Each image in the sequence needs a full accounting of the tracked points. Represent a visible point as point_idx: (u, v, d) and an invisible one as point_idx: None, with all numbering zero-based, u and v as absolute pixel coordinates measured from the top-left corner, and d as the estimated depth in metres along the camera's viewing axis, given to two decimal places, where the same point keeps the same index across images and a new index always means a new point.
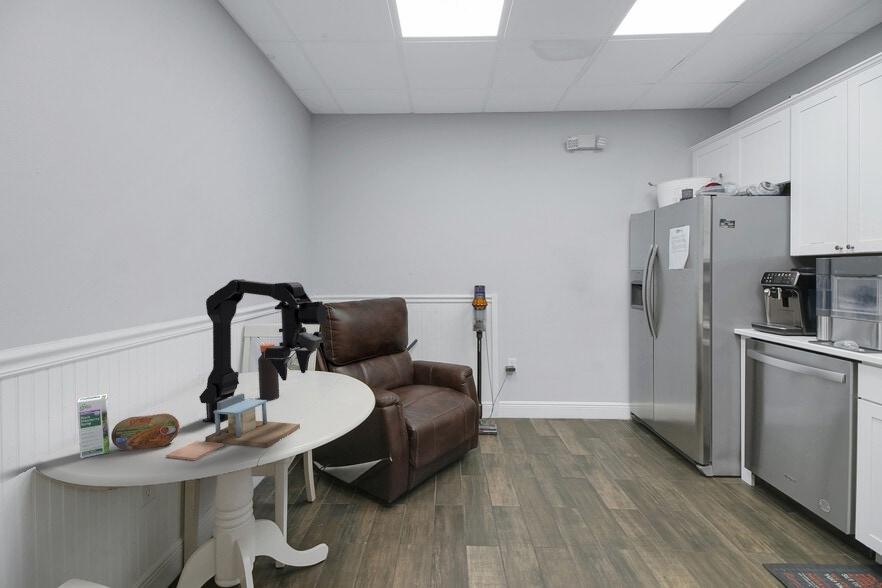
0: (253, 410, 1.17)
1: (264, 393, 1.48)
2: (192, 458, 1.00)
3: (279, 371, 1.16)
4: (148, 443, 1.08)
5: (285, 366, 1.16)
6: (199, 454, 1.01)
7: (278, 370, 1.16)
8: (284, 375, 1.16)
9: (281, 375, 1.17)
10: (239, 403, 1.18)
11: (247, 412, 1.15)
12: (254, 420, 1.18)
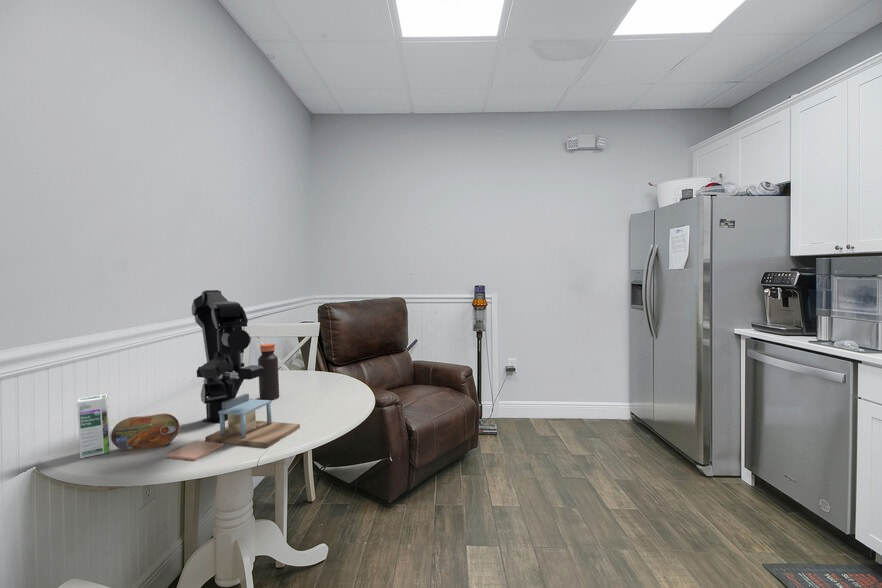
0: None
1: (264, 393, 1.48)
2: (192, 458, 1.00)
3: None
4: (148, 443, 1.08)
5: (223, 387, 1.16)
6: (199, 454, 1.01)
7: None
8: None
9: None
10: (244, 403, 1.18)
11: None
12: (254, 420, 1.18)
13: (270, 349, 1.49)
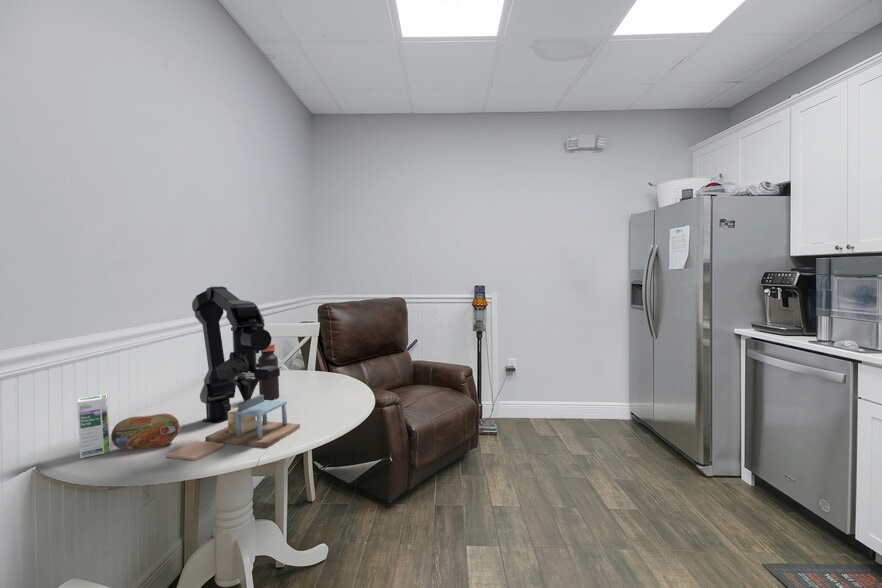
0: None
1: (264, 393, 1.48)
2: (192, 458, 1.00)
3: None
4: (148, 443, 1.08)
5: (239, 388, 1.15)
6: (199, 454, 1.01)
7: None
8: None
9: None
10: (259, 404, 1.16)
11: None
12: (254, 420, 1.18)
13: (270, 349, 1.49)
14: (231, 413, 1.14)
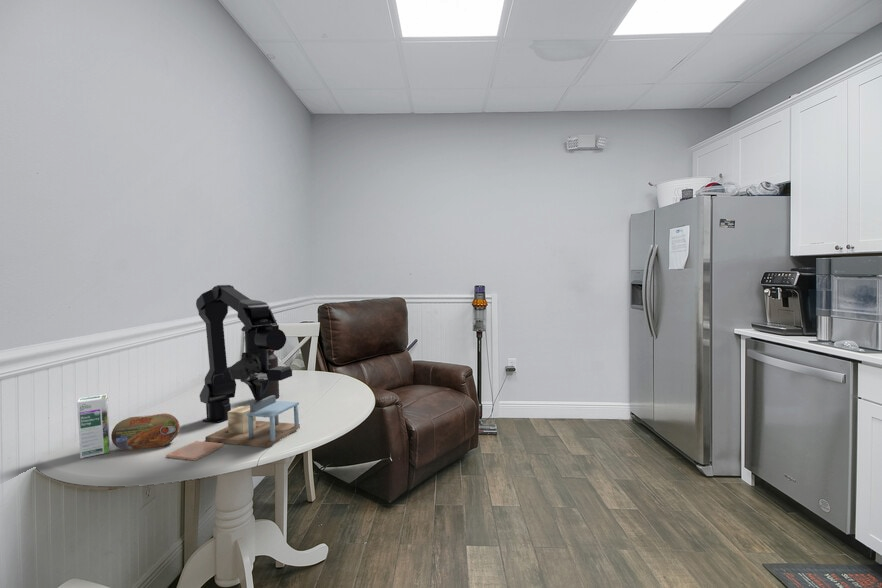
0: None
1: None
2: (192, 458, 1.00)
3: None
4: (148, 443, 1.08)
5: (251, 388, 1.13)
6: (199, 454, 1.01)
7: None
8: None
9: None
10: (271, 405, 1.15)
11: (247, 412, 1.15)
12: (254, 420, 1.18)
13: None
14: (231, 413, 1.14)
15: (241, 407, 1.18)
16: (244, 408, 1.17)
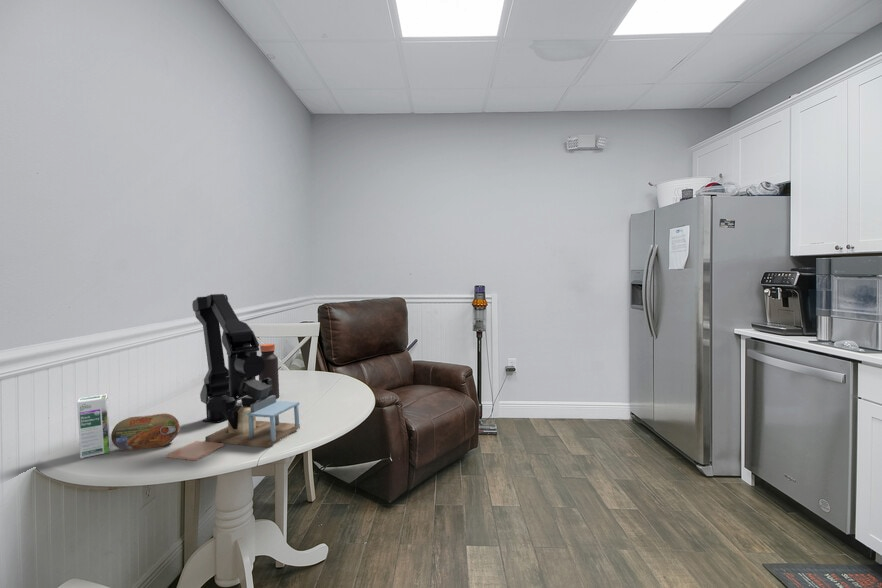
0: None
1: None
2: (192, 458, 1.00)
3: (229, 420, 1.13)
4: (148, 443, 1.08)
5: (235, 415, 1.12)
6: (199, 454, 1.01)
7: (228, 419, 1.13)
8: (234, 424, 1.13)
9: (231, 424, 1.13)
10: (271, 405, 1.15)
11: (247, 412, 1.15)
12: (254, 420, 1.18)
13: (270, 349, 1.49)
14: None
15: (241, 407, 1.18)
16: (244, 408, 1.17)
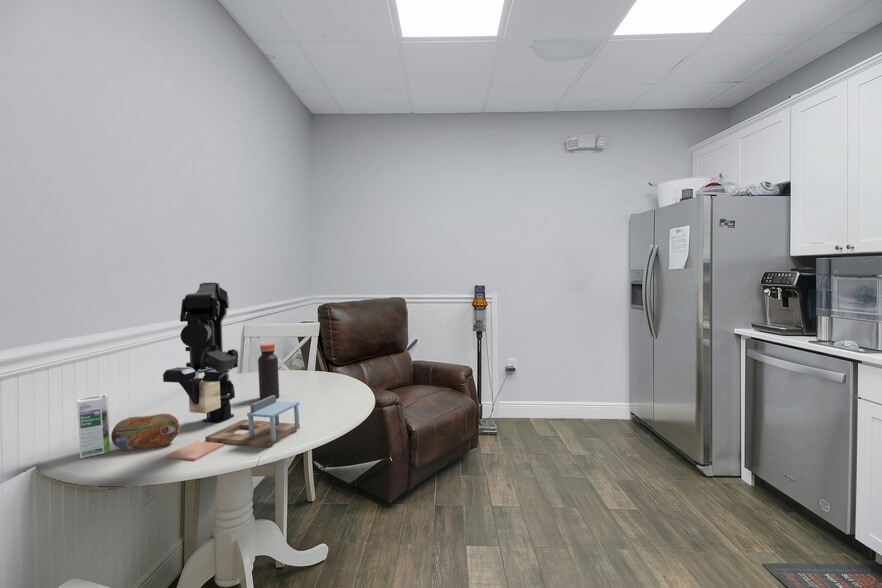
0: (217, 384, 1.08)
1: (264, 393, 1.48)
2: (192, 458, 1.00)
3: (190, 394, 1.03)
4: (148, 443, 1.08)
5: (196, 388, 1.03)
6: (199, 454, 1.01)
7: (188, 393, 1.03)
8: (195, 399, 1.03)
9: (192, 399, 1.04)
10: (271, 405, 1.15)
11: (210, 386, 1.05)
12: (218, 395, 1.08)
13: (270, 349, 1.49)
14: None
15: (204, 381, 1.08)
16: (208, 382, 1.07)
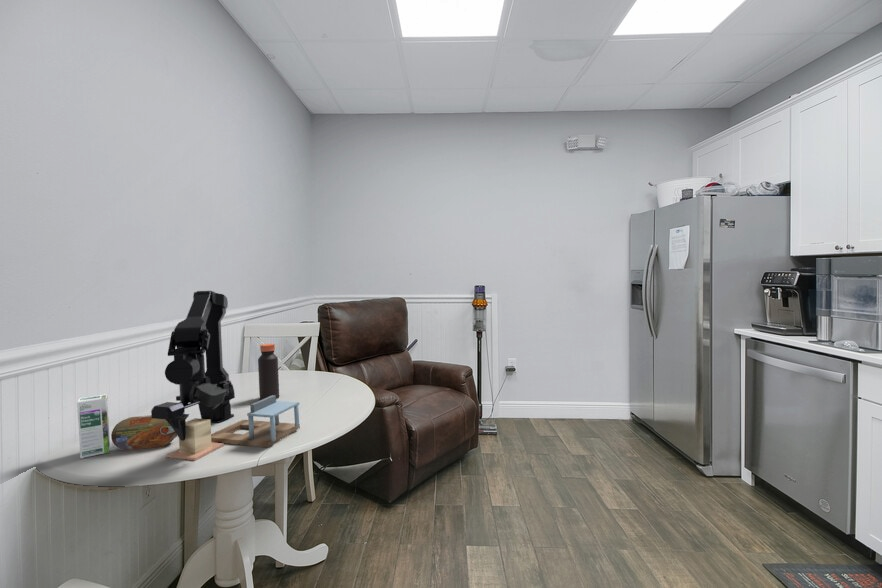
0: (208, 423, 1.06)
1: (264, 393, 1.48)
2: (192, 458, 1.00)
3: (176, 430, 1.00)
4: (148, 443, 1.08)
5: (182, 425, 1.00)
6: (199, 454, 1.01)
7: (175, 429, 1.00)
8: (182, 435, 1.00)
9: (178, 434, 1.01)
10: (271, 405, 1.15)
11: (200, 425, 1.03)
12: (209, 434, 1.06)
13: (270, 349, 1.49)
14: None
15: (195, 419, 1.06)
16: (198, 421, 1.05)
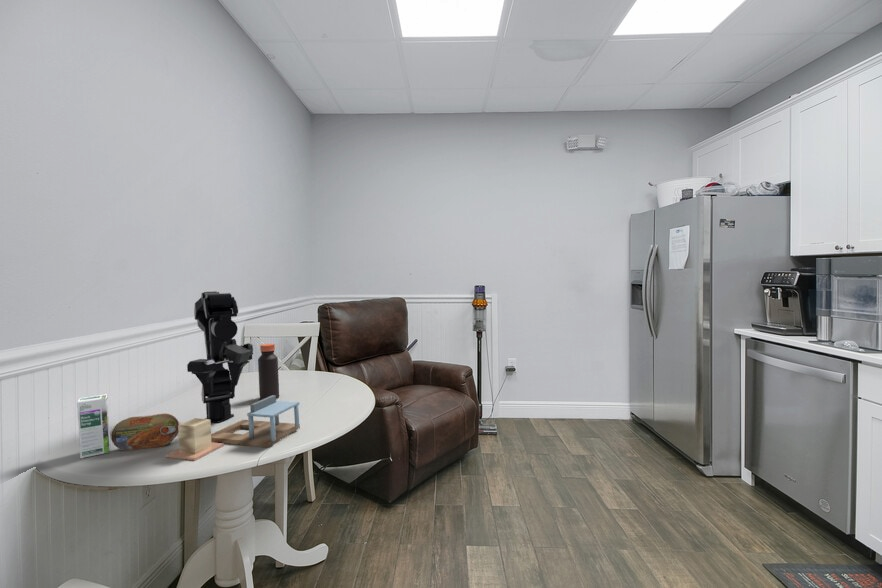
0: (208, 423, 1.06)
1: (264, 393, 1.48)
2: (192, 458, 1.00)
3: (204, 385, 1.14)
4: (148, 443, 1.08)
5: (210, 380, 1.13)
6: (199, 454, 1.01)
7: (203, 384, 1.14)
8: (210, 389, 1.14)
9: (207, 389, 1.14)
10: (271, 405, 1.15)
11: (200, 425, 1.03)
12: (209, 434, 1.06)
13: (270, 349, 1.49)
14: (182, 426, 1.02)
15: (195, 419, 1.06)
16: (198, 421, 1.05)
